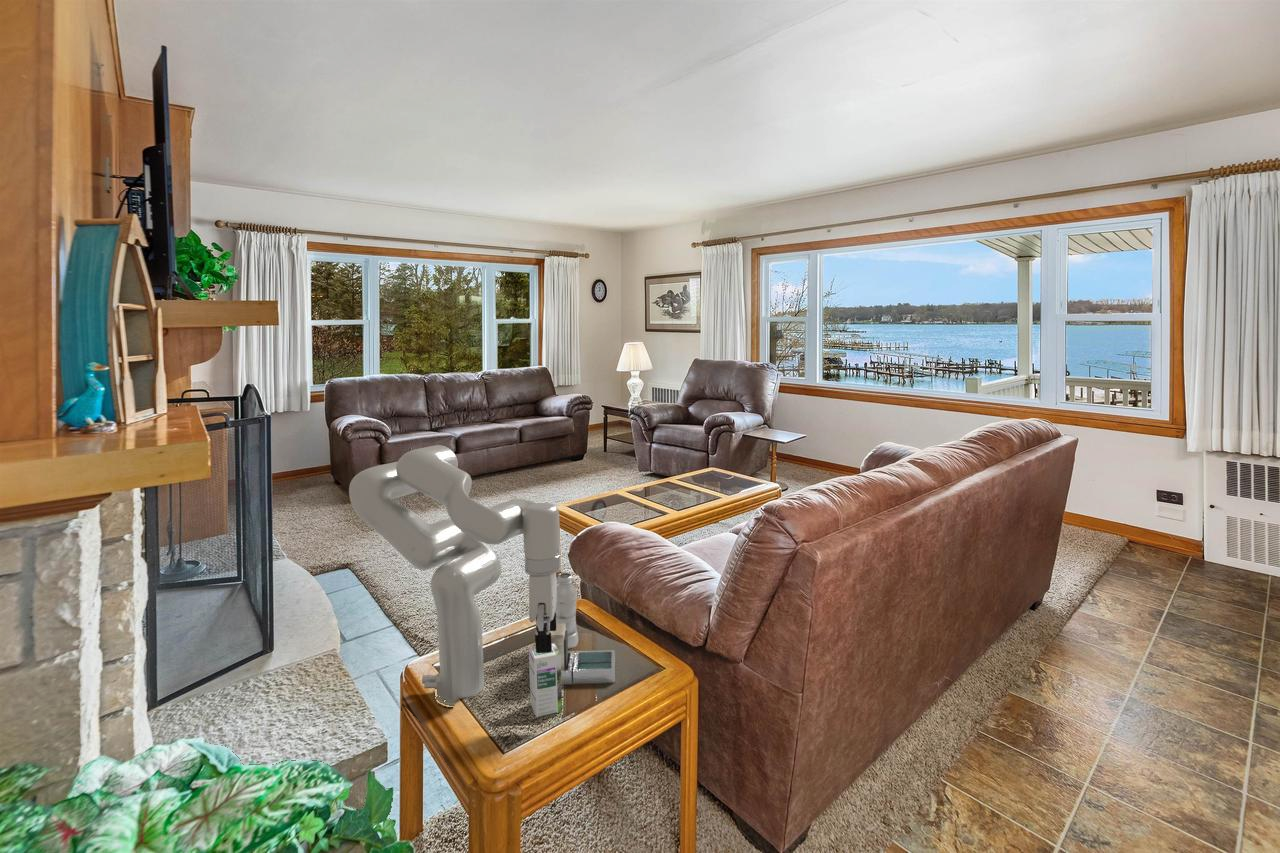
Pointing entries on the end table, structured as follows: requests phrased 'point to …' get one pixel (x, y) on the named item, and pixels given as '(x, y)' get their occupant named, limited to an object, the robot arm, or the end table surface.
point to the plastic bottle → (567, 607)
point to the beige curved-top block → (561, 643)
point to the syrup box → (545, 682)
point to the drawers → (589, 667)
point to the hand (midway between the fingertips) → (546, 640)
